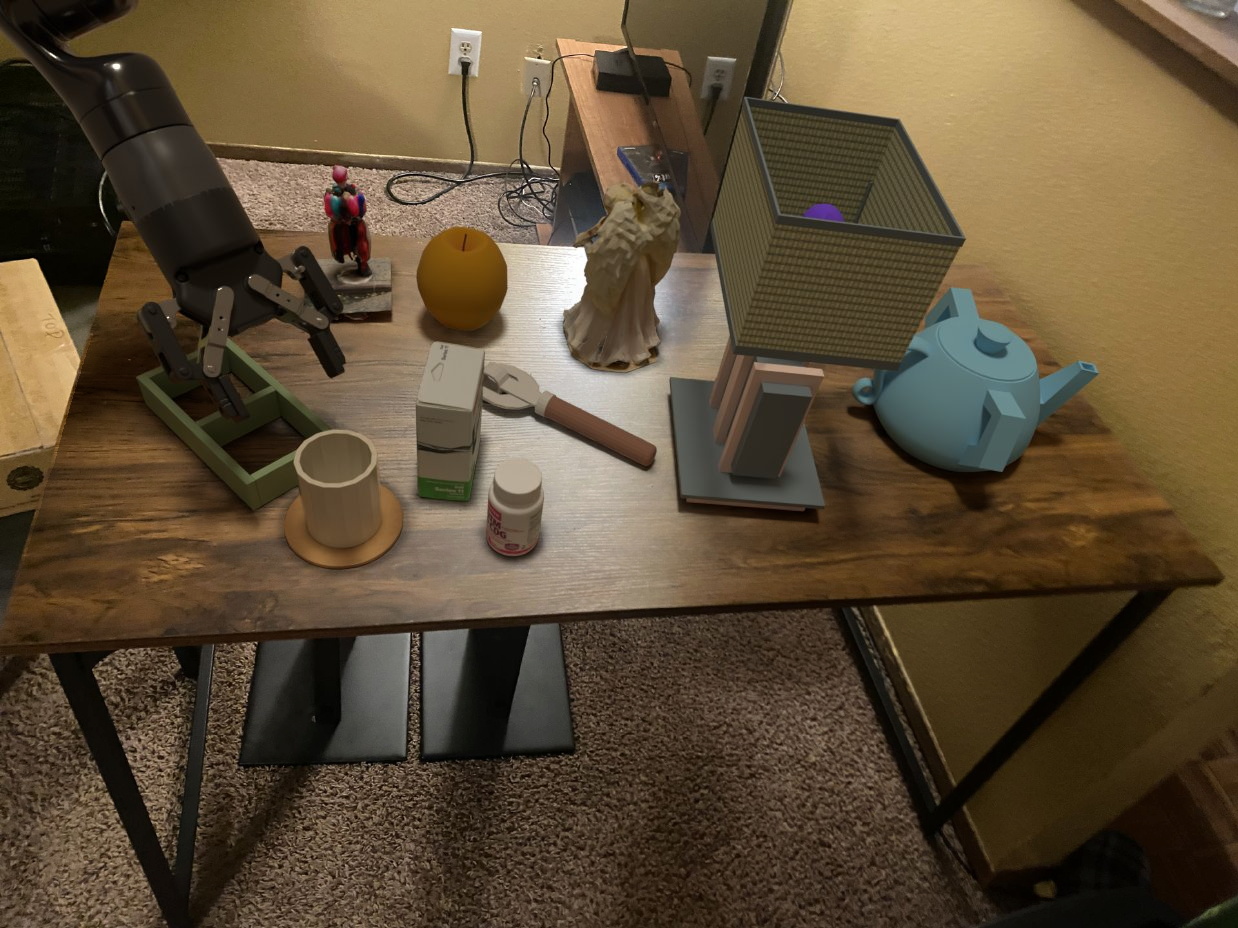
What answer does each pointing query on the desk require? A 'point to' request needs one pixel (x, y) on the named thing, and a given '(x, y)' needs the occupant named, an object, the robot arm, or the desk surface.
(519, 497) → the pill bottle
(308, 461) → the cup
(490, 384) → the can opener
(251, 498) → the cup holder
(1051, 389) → the teapot
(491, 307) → the apple
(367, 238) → the statue
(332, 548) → the coaster
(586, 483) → the desk surface
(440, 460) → the ink box
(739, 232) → the desk lamp
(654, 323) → the figurine
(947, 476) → the desk surface
